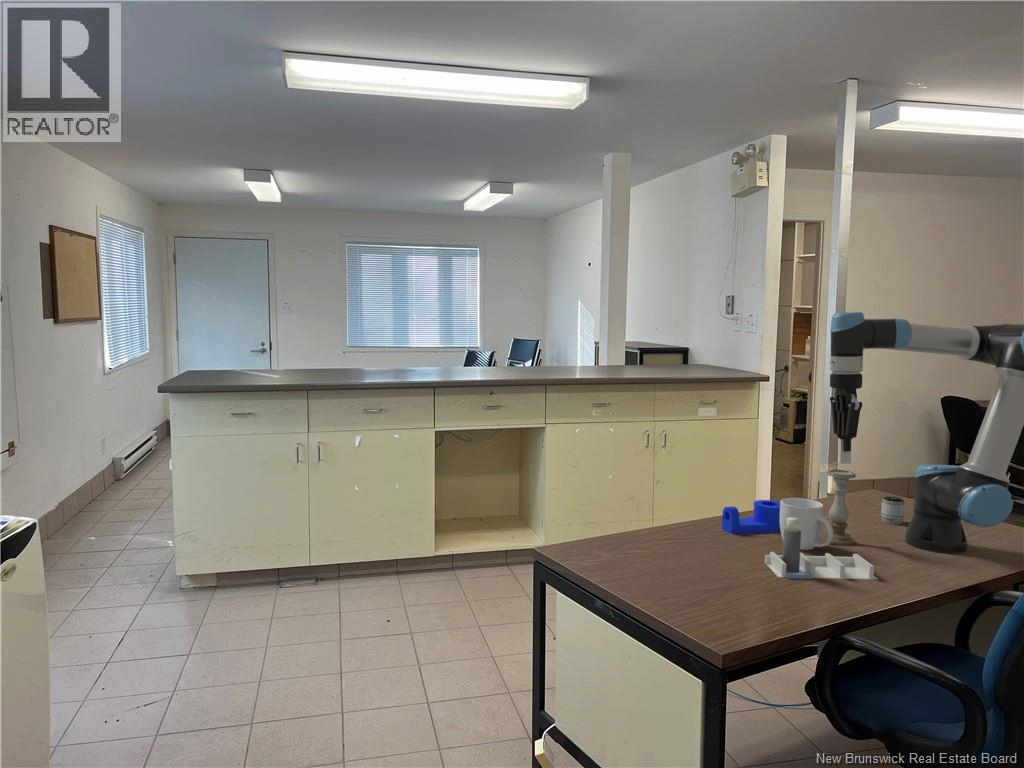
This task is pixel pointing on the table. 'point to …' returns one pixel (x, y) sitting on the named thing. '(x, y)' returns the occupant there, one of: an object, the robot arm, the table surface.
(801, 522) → the mug
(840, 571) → the white compartment tray
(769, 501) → the bracket
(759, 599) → the table surface
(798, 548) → the two-tone capped cylinder
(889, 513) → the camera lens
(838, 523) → the candle holder
